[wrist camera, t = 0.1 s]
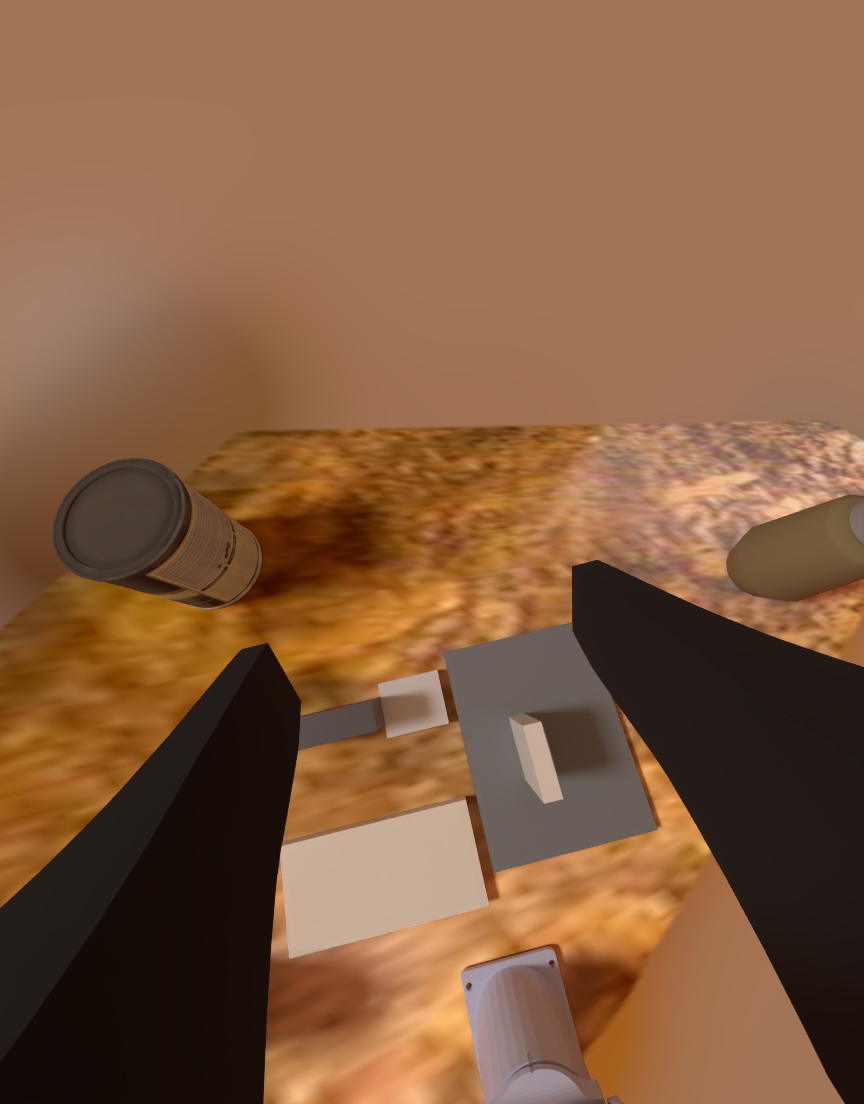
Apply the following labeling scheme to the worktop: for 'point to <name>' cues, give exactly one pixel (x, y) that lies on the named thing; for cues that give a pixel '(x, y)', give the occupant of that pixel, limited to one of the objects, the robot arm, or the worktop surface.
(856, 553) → the squeeze bottle
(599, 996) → the worktop surface
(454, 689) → the mat
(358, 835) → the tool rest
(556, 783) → the tile
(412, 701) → the grey bar
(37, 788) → the worktop surface
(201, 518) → the coffee can
